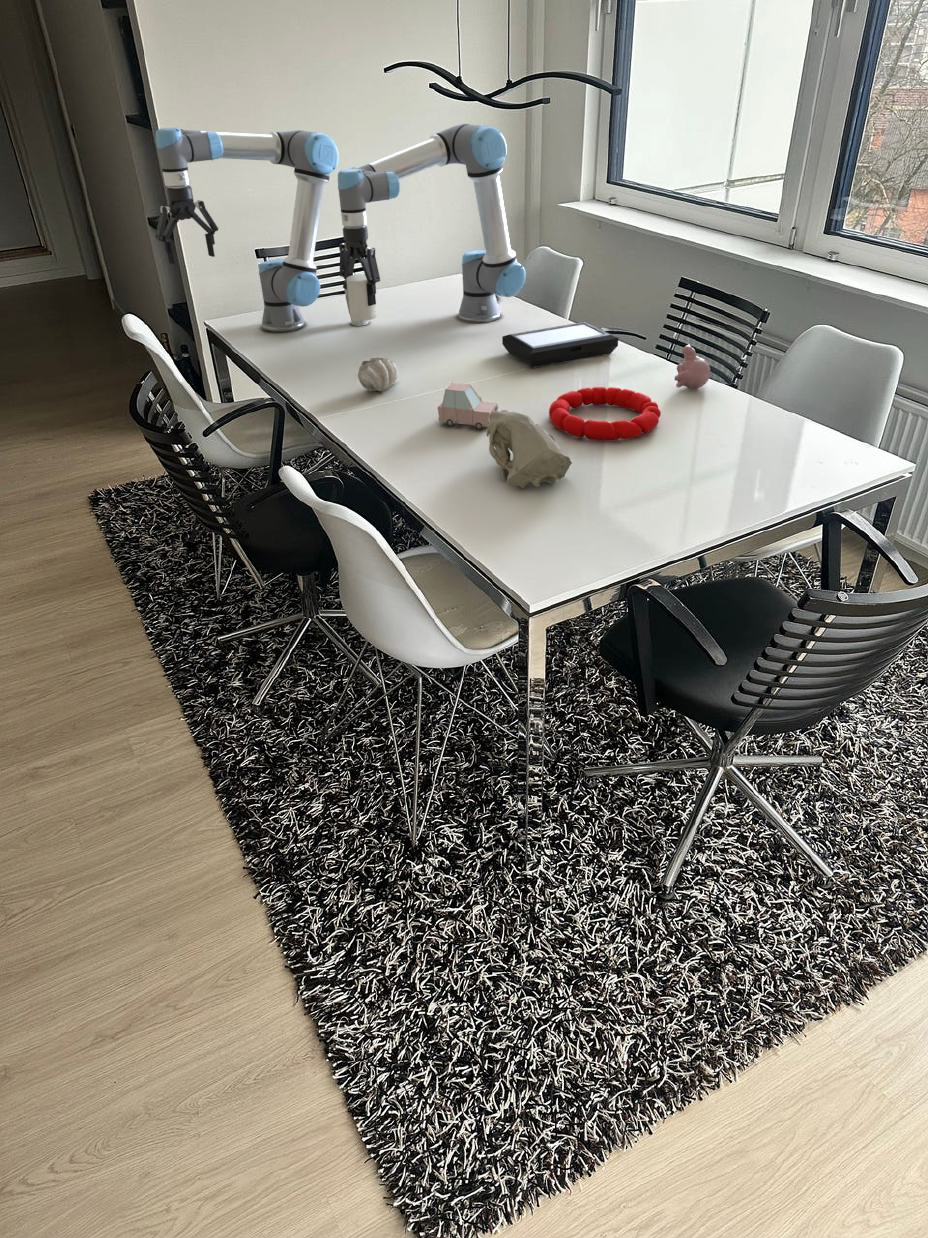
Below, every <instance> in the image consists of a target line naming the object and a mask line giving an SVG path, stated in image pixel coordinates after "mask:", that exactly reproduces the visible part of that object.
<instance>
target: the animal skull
mask: <svg viewBox="0 0 928 1238" xmlns="http://www.w3.org/2000/svg"><path fill="white" fill-rule="evenodd" d="M485 436H486V438H487V437H489V438H488V440H489V444H488V445H489V446H488V450H489V454H490V456H491V457H492V458H493V459H494V460H495V462H496V464H497V466H499V468H500V470H501V471H502V472H501V478H502V479H507V480H506V484H507V486H517V487H518V486H519V488H523V489H524V488H526V486H527V485H529V483H531V485H533V486H534V487H536V488H540V485H541V484H542V482H544V483H549V484H550V485H553V484H555V483H556V482H557V480H561V479H563V478H565V476H566V474H567V472H568V471H569V469H570V467H571V466H572V464H573V462H572V461H571V458H570V457H568V456H567V455H565V453H564V451H562V449H561V448H560V446H559V444H557V443H556V439H555V438H554V436H553V435H551V434H550V433H548V432H547V431H546V430H545V429H544V428H542V427H541V426H539V425H538V424H537V423H536V424H535V422H534V421H533V419H532V418H531V417H530V416H529V415H527V414H524V413H519V412H515V411H509V410H507V409H502V410H500V411H499V410H497V411H496V412H492V413H491V414H490V422H488V423H487V427H486V435H485ZM511 453H512V454H511ZM511 455H512V457H513V458H512V460H511ZM507 474H508V475H507Z"/></svg>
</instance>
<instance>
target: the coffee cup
mask: <svg viewBox="0 0 928 1238" xmlns="http://www.w3.org/2000/svg"><path fill="white" fill-rule="evenodd" d="M342 288H343V290H344V297H345V301H346V305H347V310H348V314H349V315H350V309H349V301H348V294H347V289H346V284H345V280H344V281H343V285H342ZM350 323H351V325H353V326H357V327H359V326H365V325H368V324H369V320H366V321H356V320H352V319H351V318H350Z"/></svg>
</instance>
